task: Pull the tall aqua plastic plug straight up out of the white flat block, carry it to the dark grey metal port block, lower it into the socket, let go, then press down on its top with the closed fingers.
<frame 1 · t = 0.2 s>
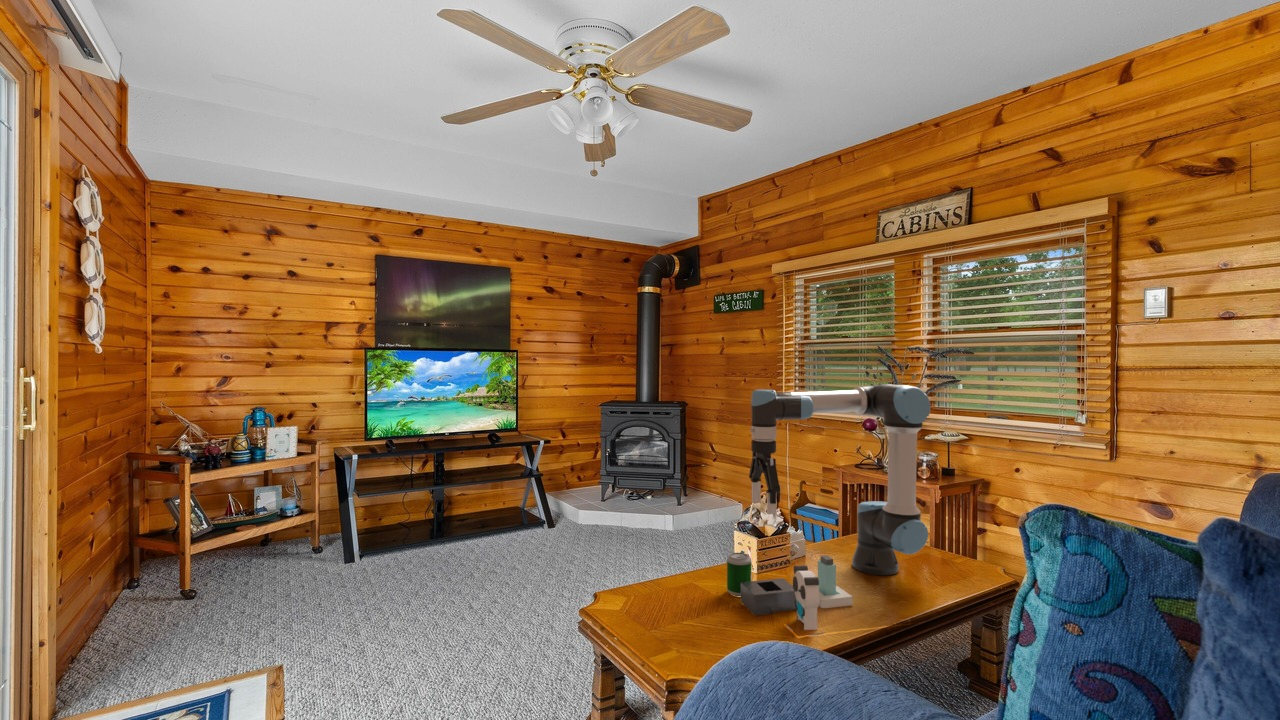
hand: (763, 508, 189), 27 cm above the table, tool pointing down, fingers open, 13 cm apart
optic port: (769, 606, 182), on the table
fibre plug: (826, 598, 186), resting on white flat block
white flat block: (826, 600, 186), on the table
panda figurine: (806, 625, 169), on the table
soda can: (739, 594, 191), on the table
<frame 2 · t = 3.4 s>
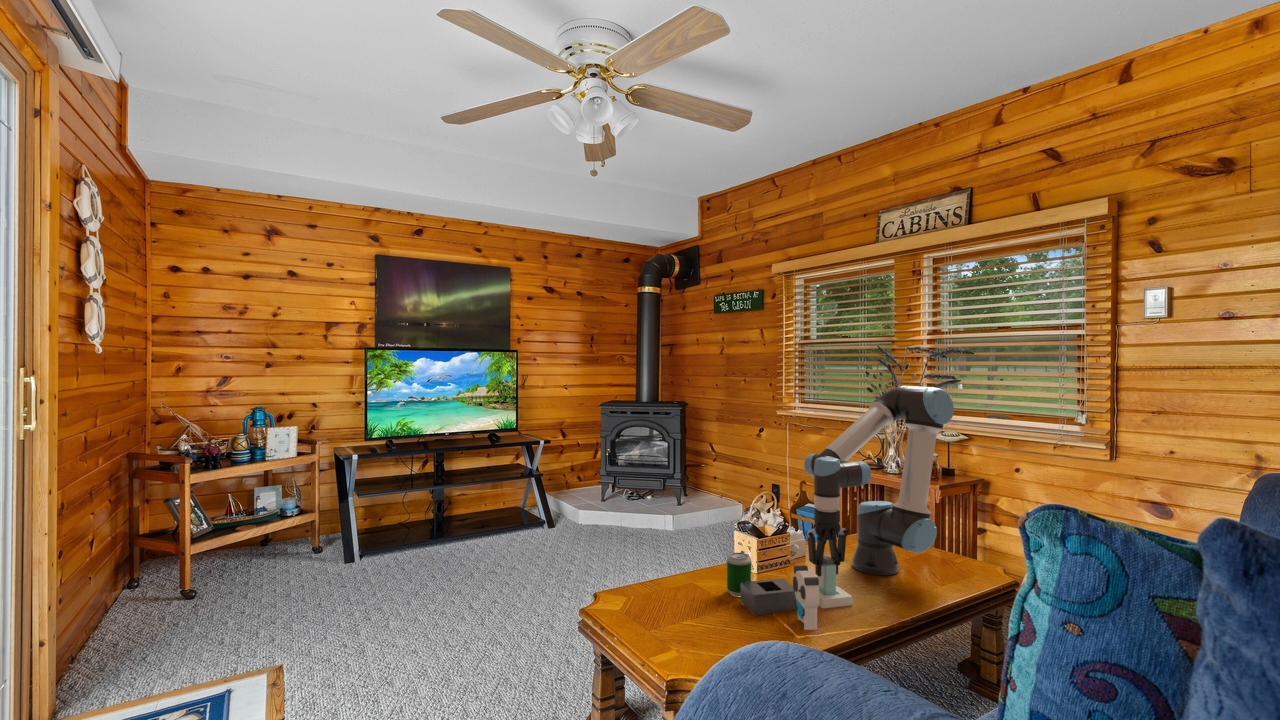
hand: (826, 585, 186), 5 cm above the table, tool pointing down, fingers closed on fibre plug, 3 cm apart
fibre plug: (826, 598, 186), resting on white flat block, touching gripper
everything else where it was.
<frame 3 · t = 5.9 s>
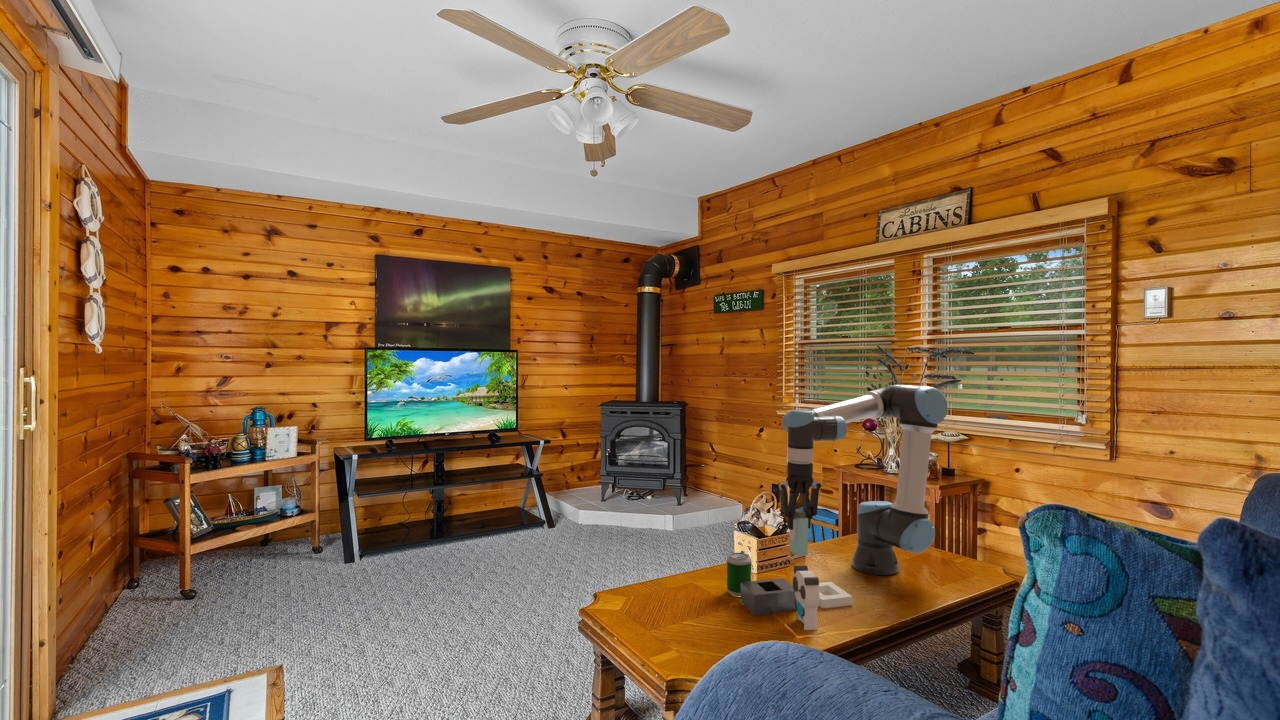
hand: (798, 539, 184), 19 cm above the table, tool pointing down, fingers closed on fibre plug, 3 cm apart
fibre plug: (798, 552, 184), point 15 cm above the table, touching gripper
everything else where it was.
when the fingers open (7 cm above the table, at t = 8.6 s): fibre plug drops 1 cm, resting on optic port.
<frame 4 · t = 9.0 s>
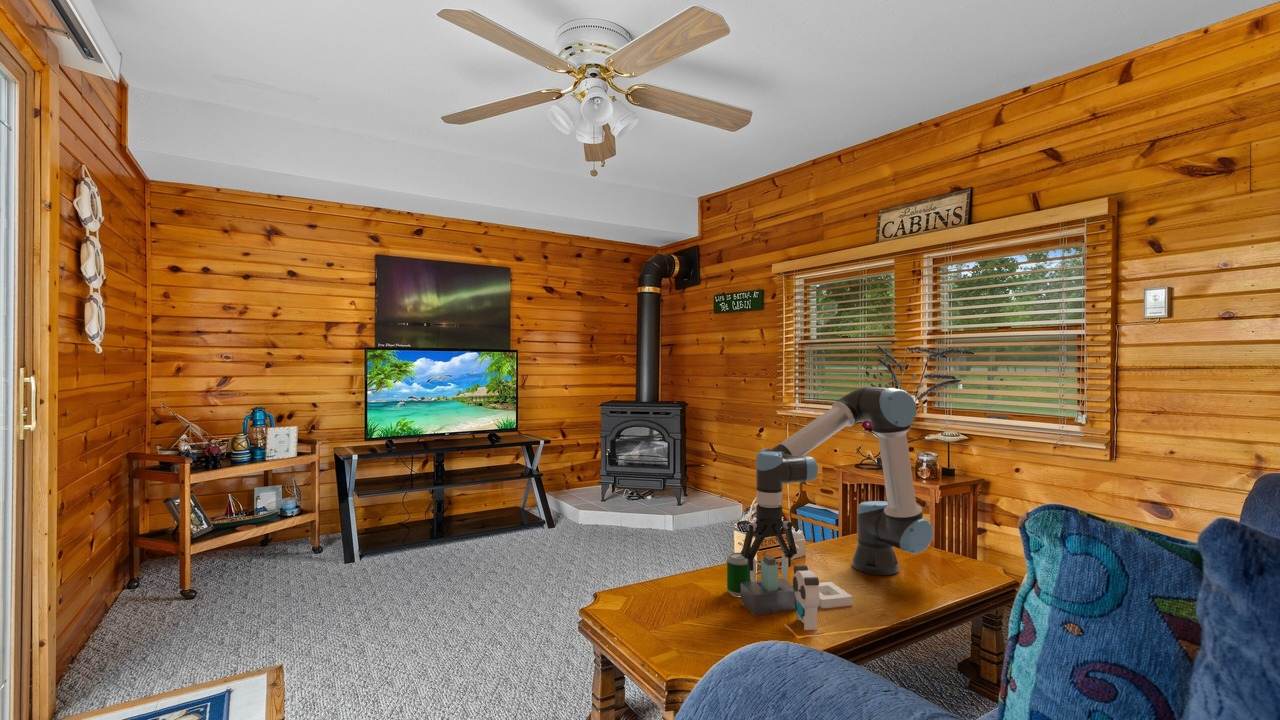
hand: (769, 579, 182), 8 cm above the table, tool pointing down, fingers open, 9 cm apart
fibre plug: (769, 599, 182), point 2 cm above the table, touching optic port
everything else where it was.
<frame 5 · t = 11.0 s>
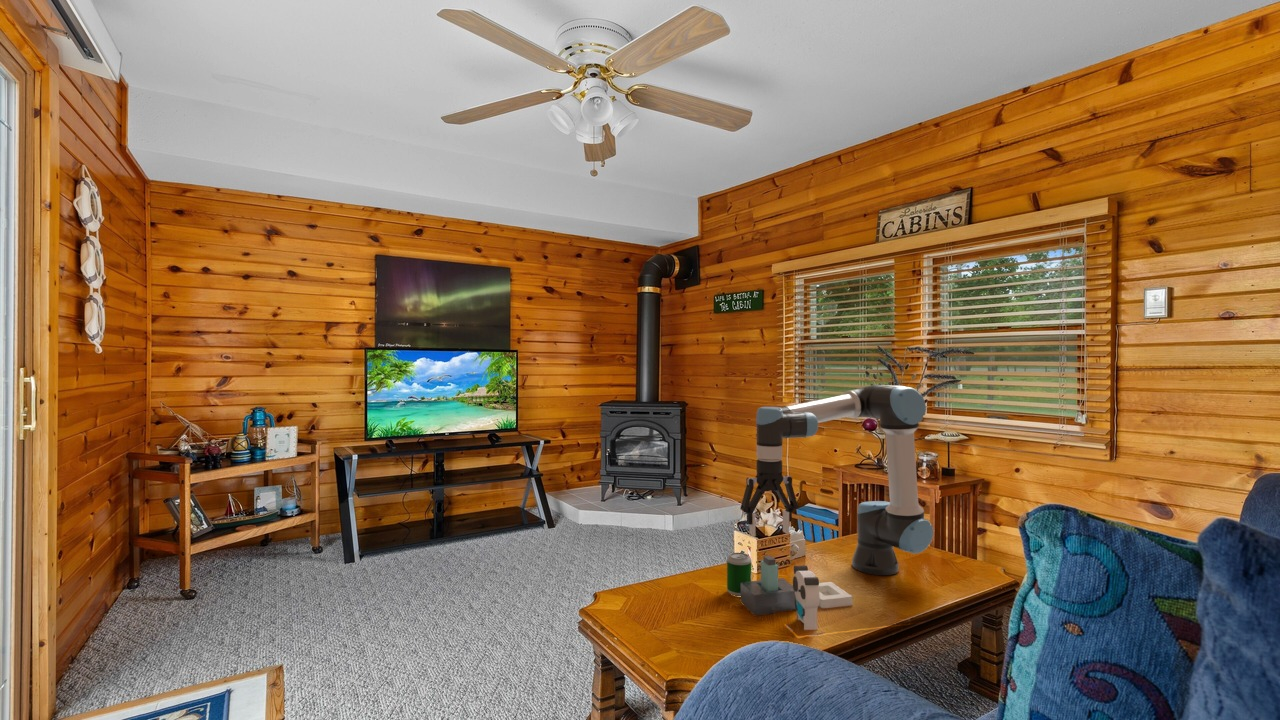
hand: (769, 533, 181), 22 cm above the table, tool pointing down, fingers open, 10 cm apart
nothing on the table moved.
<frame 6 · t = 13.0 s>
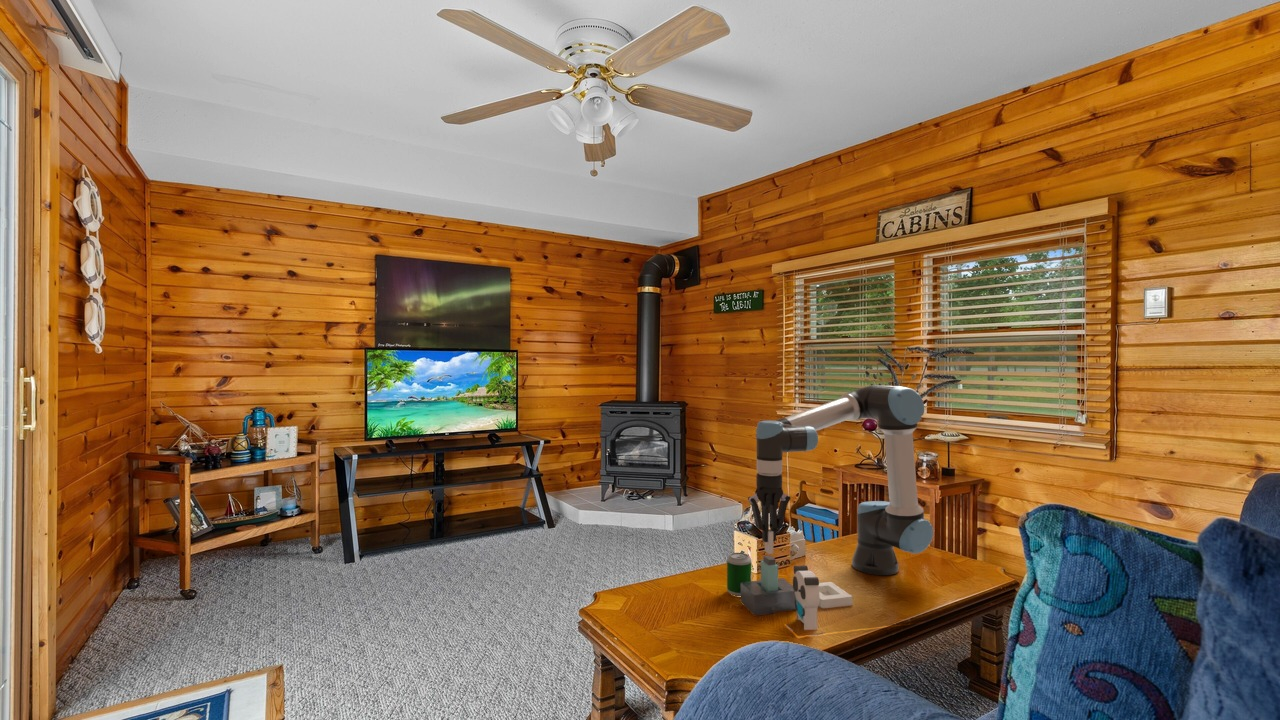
hand: (769, 552, 182), 16 cm above the table, tool pointing down, fingers closed
nothing on the table moved.
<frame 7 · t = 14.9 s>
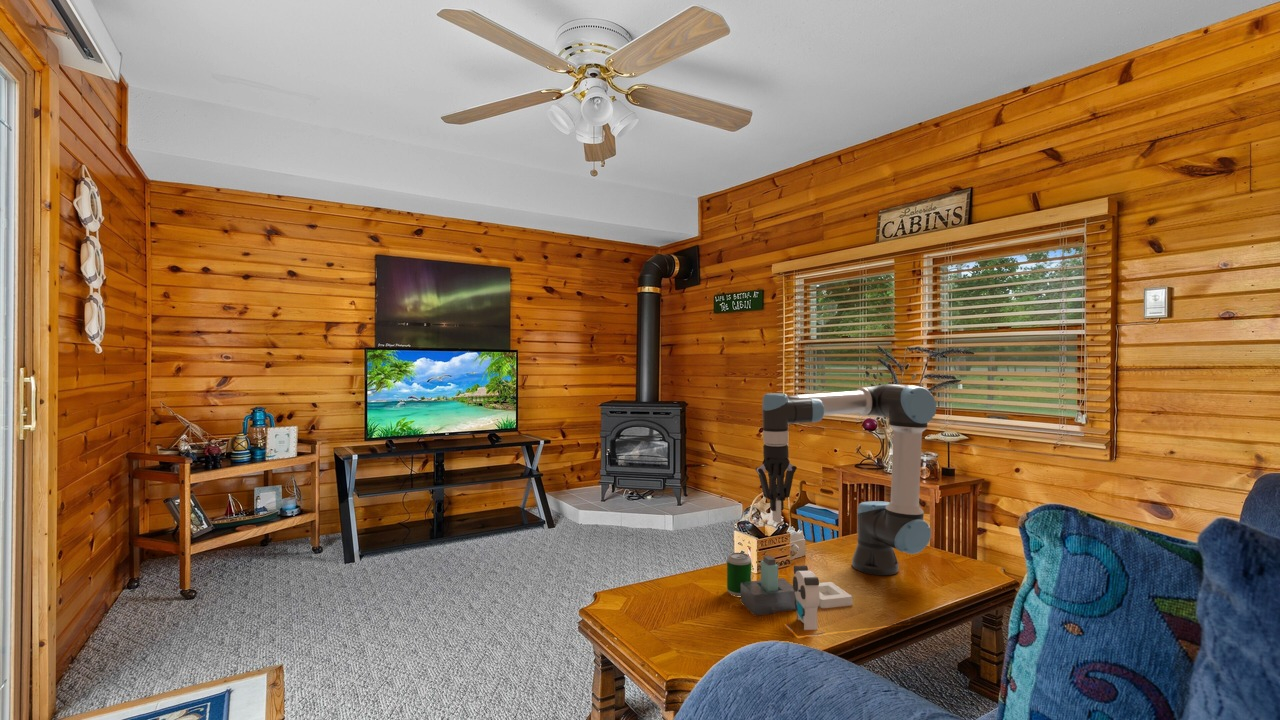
hand: (777, 520, 187), 24 cm above the table, tool pointing down, fingers closed
nothing on the table moved.
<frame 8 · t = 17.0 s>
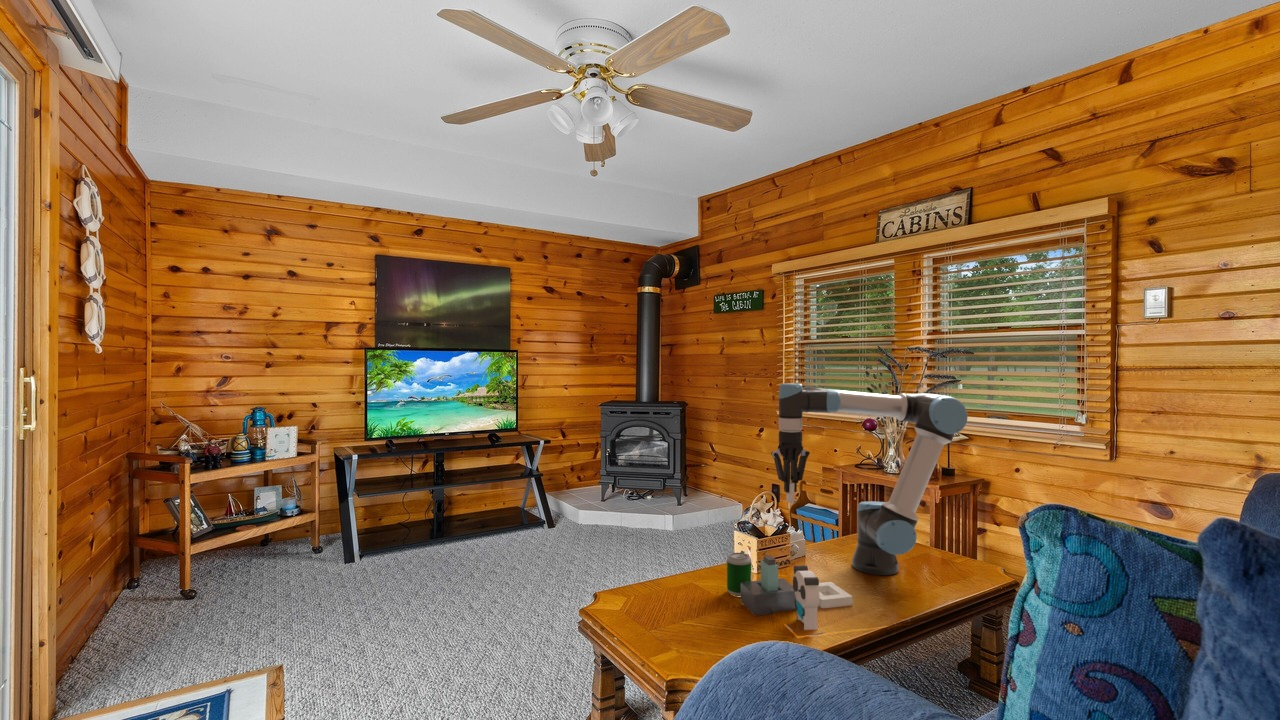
hand: (790, 502, 200), 26 cm above the table, tool pointing down, fingers closed
nothing on the table moved.
at the end: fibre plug 0.1 cm off-centre on the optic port, point 2.0 cm above the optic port's base; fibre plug tilted 0°; the gripper is holding nothing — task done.
